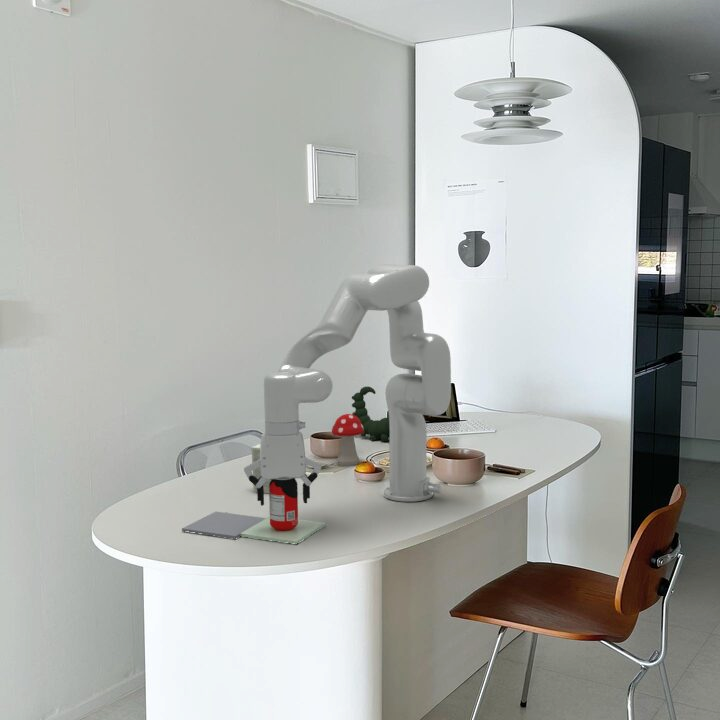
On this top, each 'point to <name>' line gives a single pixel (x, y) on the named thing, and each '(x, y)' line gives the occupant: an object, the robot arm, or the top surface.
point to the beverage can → (283, 504)
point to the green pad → (291, 536)
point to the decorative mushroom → (347, 438)
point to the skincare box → (257, 471)
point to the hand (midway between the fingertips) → (283, 502)
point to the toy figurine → (370, 427)
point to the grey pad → (223, 524)
